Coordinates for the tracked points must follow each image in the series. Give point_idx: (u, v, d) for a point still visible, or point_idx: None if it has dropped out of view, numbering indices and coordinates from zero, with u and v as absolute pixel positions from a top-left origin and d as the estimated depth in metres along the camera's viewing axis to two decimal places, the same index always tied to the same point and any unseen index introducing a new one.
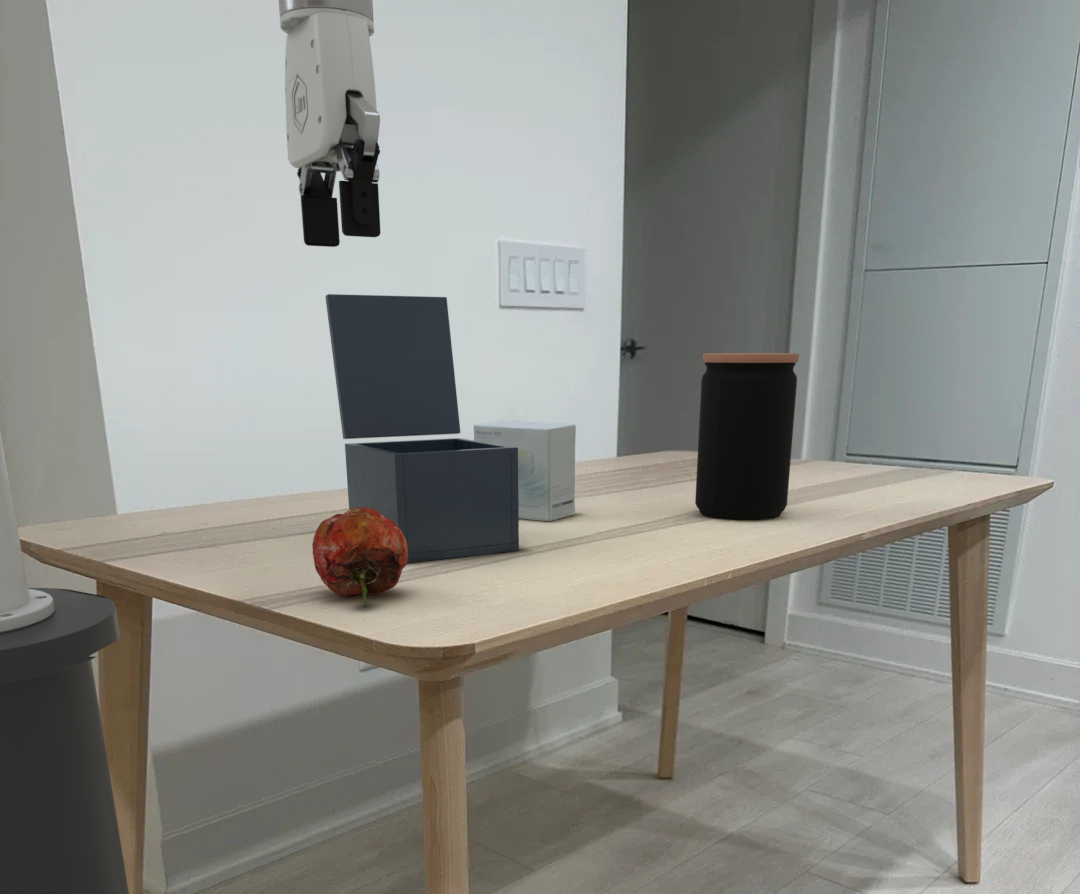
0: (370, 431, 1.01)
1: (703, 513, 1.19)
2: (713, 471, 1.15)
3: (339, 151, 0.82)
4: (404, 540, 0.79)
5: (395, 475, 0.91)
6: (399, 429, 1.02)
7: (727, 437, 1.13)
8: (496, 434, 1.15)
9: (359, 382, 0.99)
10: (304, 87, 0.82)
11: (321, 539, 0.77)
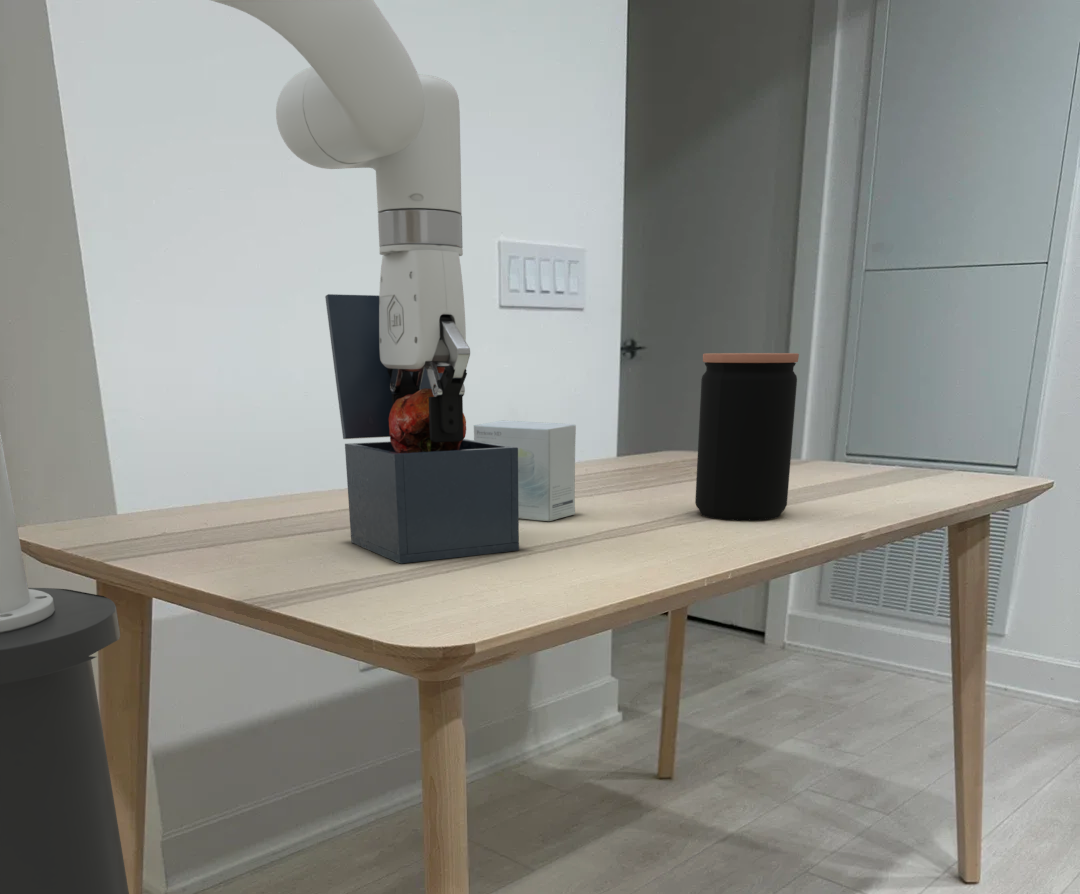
0: (370, 431, 1.01)
1: (703, 513, 1.19)
2: (713, 471, 1.15)
3: (430, 370, 0.91)
4: (463, 416, 0.96)
5: (395, 475, 0.91)
6: None
7: (727, 437, 1.13)
8: (496, 434, 1.15)
9: (359, 382, 0.99)
10: (401, 308, 0.91)
11: (397, 412, 0.94)
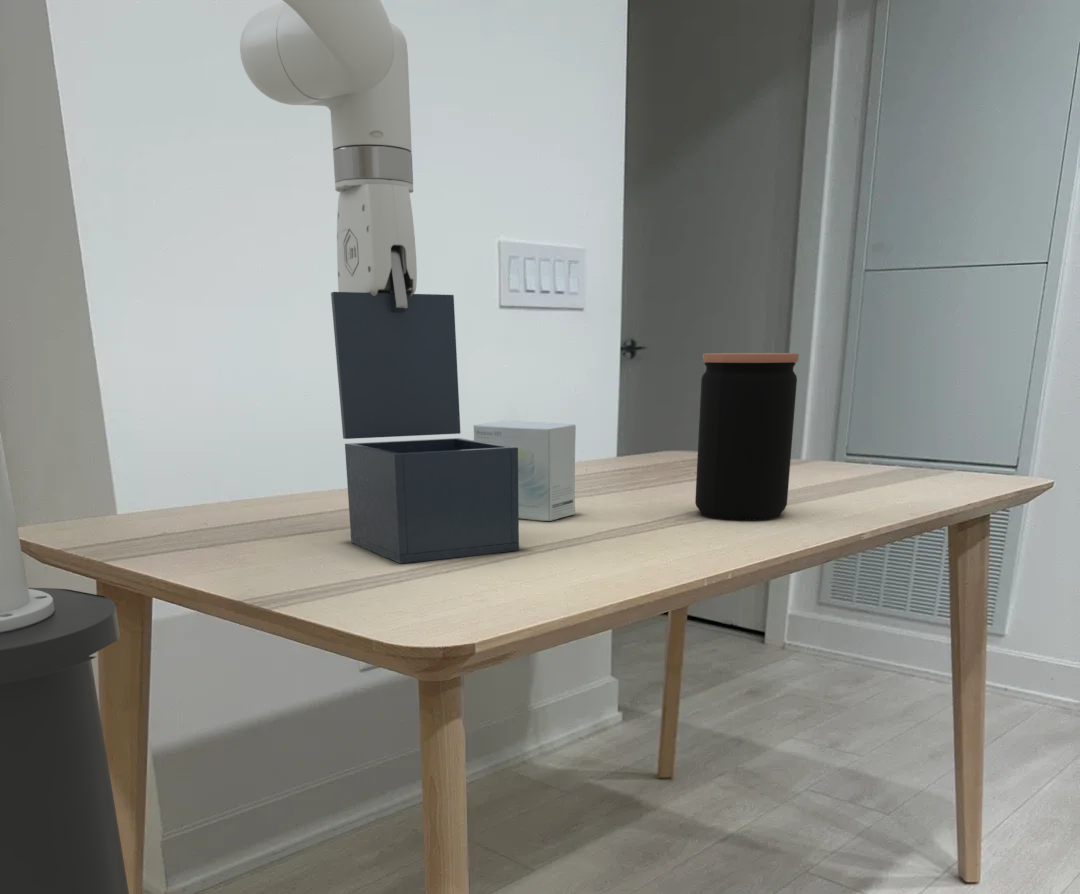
0: (370, 431, 1.01)
1: (703, 513, 1.19)
2: (713, 471, 1.15)
3: None
4: None
5: (395, 475, 0.91)
6: (399, 429, 1.02)
7: (727, 437, 1.13)
8: (496, 434, 1.16)
9: (361, 382, 0.99)
10: (355, 240, 0.98)
11: None
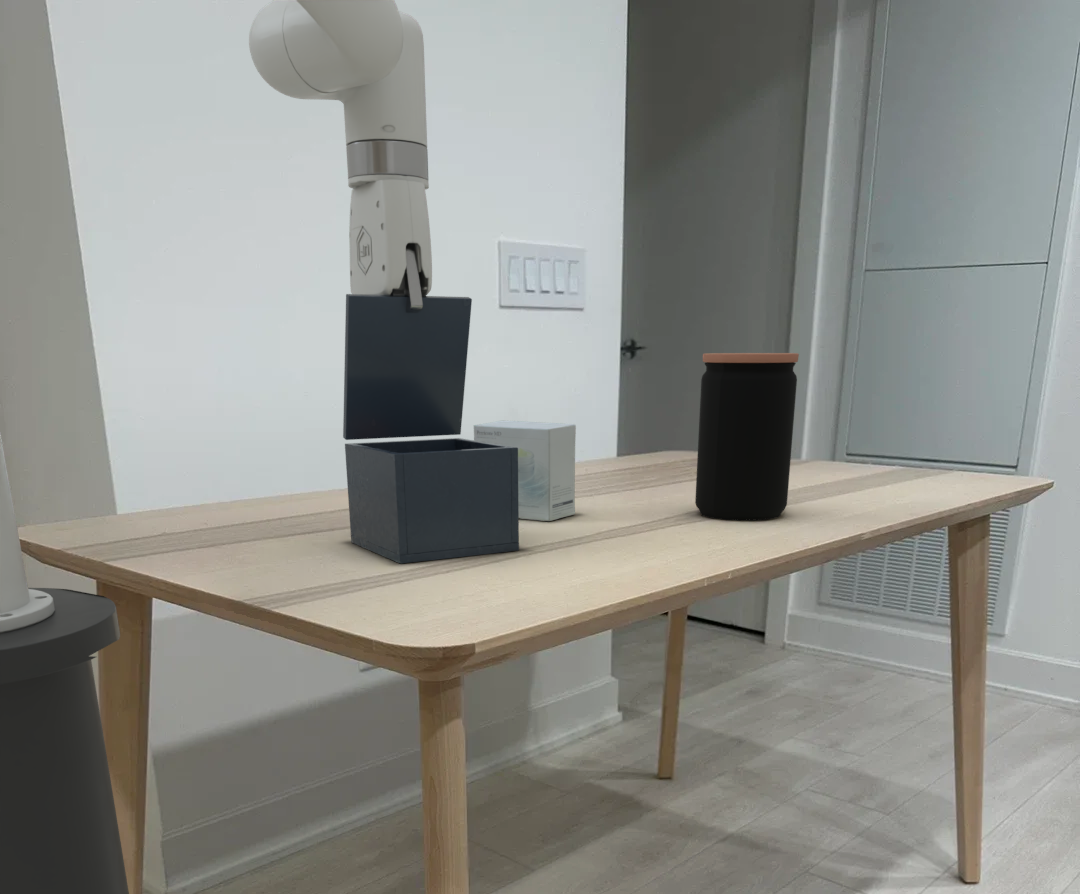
0: (371, 433, 1.01)
1: (703, 513, 1.19)
2: (713, 471, 1.15)
3: None
4: None
5: (395, 475, 0.91)
6: (400, 431, 1.02)
7: (727, 437, 1.13)
8: (496, 434, 1.16)
9: (367, 386, 0.98)
10: (369, 238, 0.95)
11: None
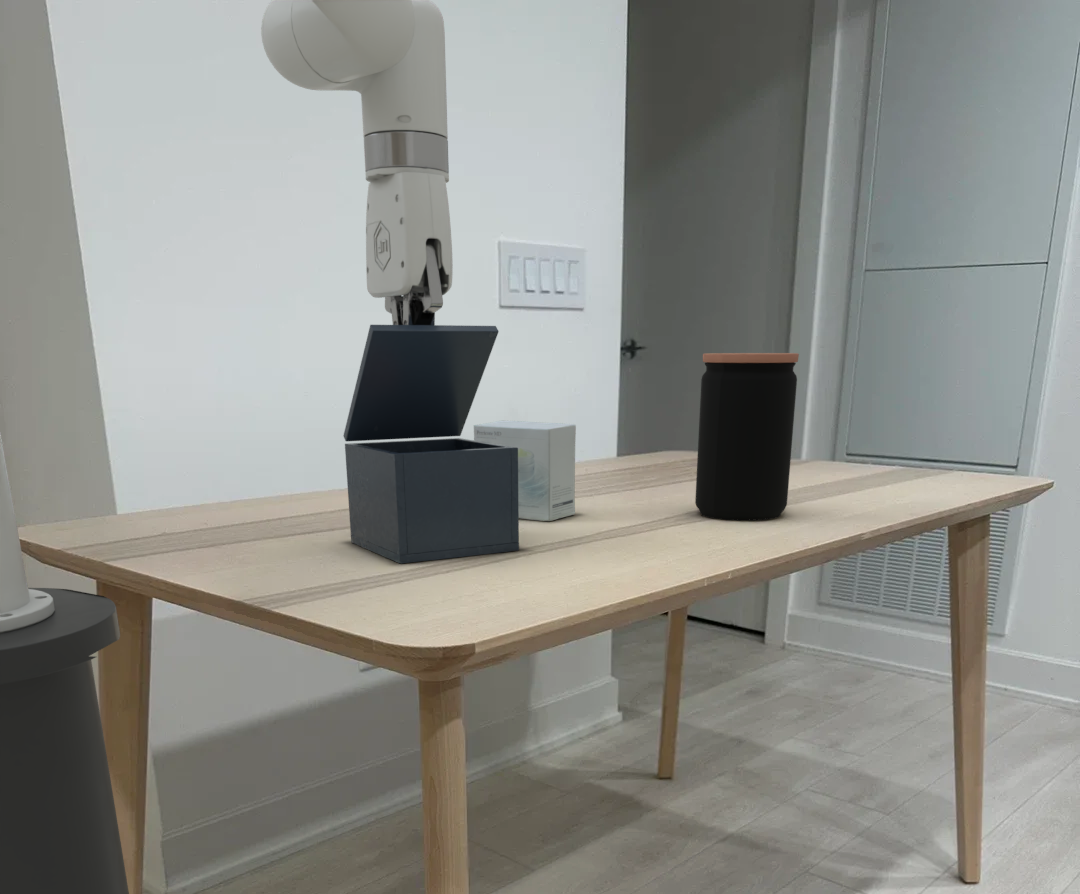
0: (372, 436, 1.00)
1: (703, 513, 1.19)
2: (713, 471, 1.15)
3: (406, 304, 0.94)
4: None
5: (395, 475, 0.91)
6: (401, 434, 1.02)
7: (727, 437, 1.13)
8: (496, 434, 1.15)
9: (376, 400, 0.97)
10: (387, 233, 0.91)
11: None
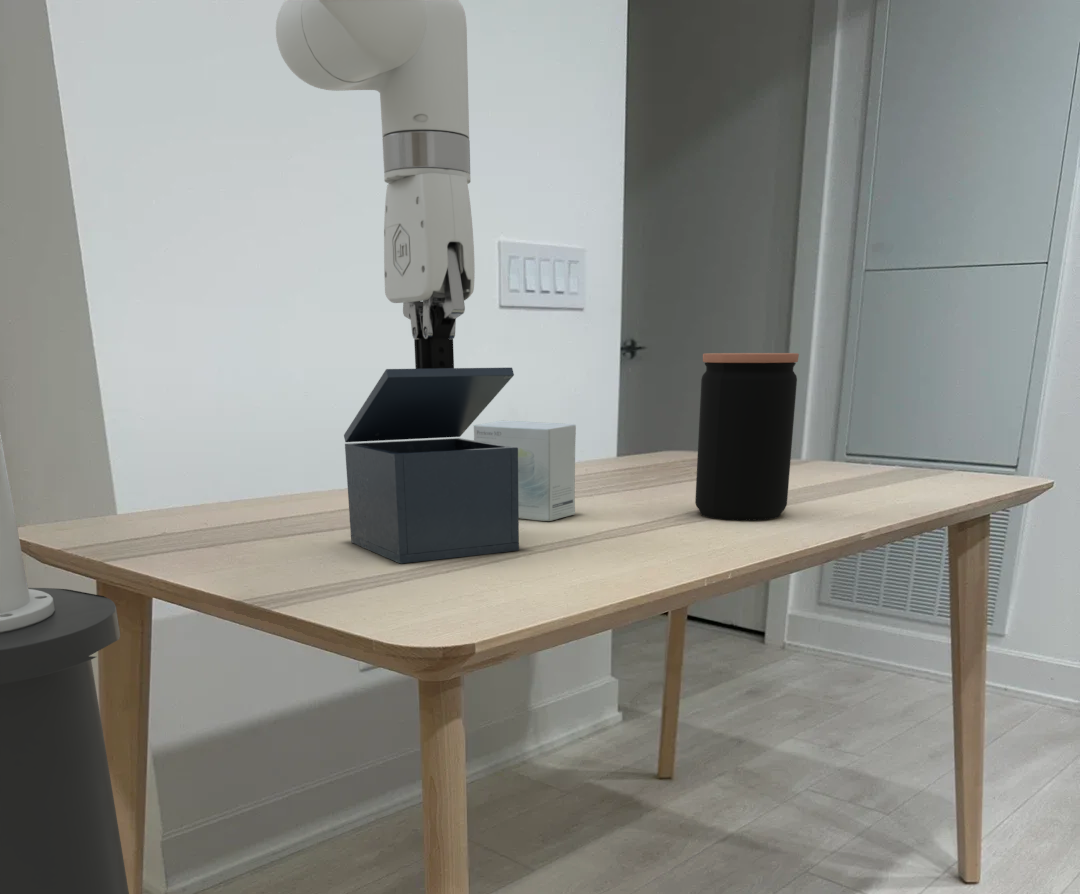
0: (372, 439, 1.01)
1: (703, 513, 1.19)
2: (713, 471, 1.15)
3: (427, 310, 0.90)
4: None
5: (395, 475, 0.91)
6: (401, 437, 1.02)
7: (727, 437, 1.13)
8: (496, 434, 1.15)
9: (381, 418, 0.96)
10: (407, 237, 0.88)
11: None
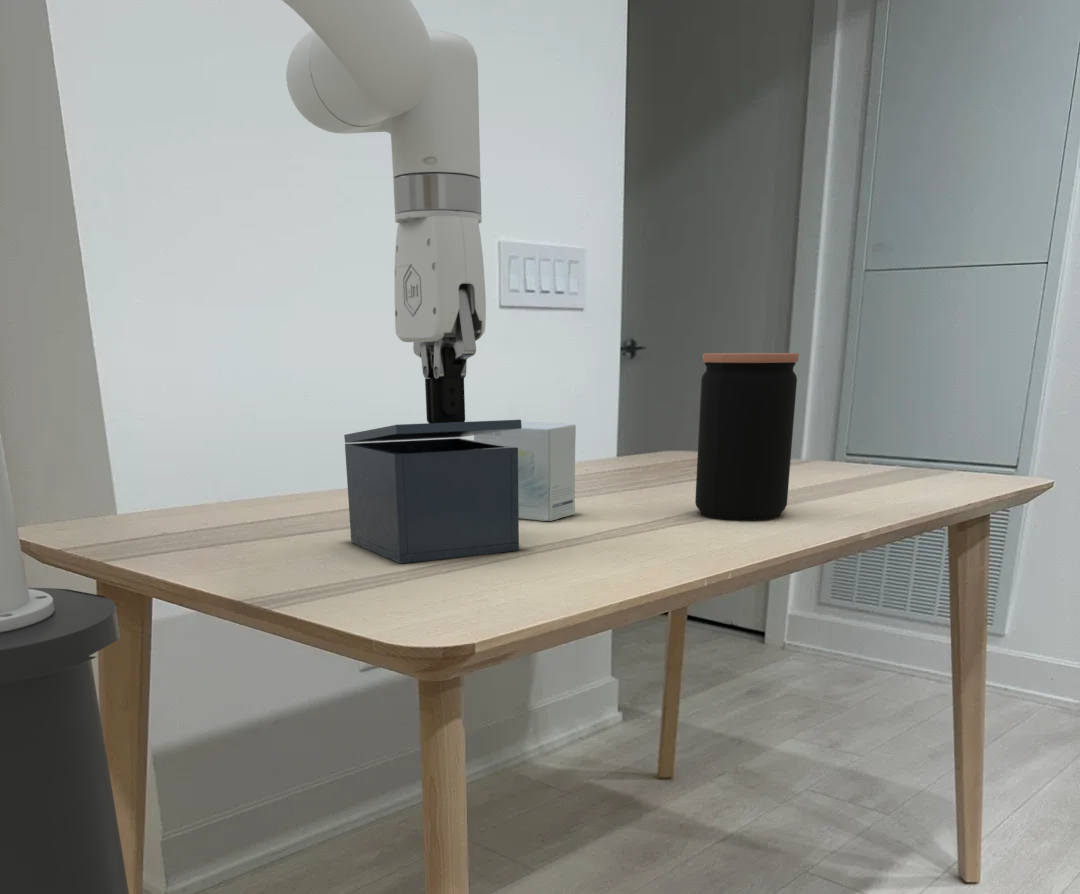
0: (372, 441, 1.01)
1: (703, 513, 1.19)
2: (713, 471, 1.15)
3: (438, 350, 0.90)
4: None
5: (395, 475, 0.91)
6: None
7: (727, 437, 1.13)
8: (496, 434, 1.16)
9: None
10: (418, 278, 0.88)
11: None
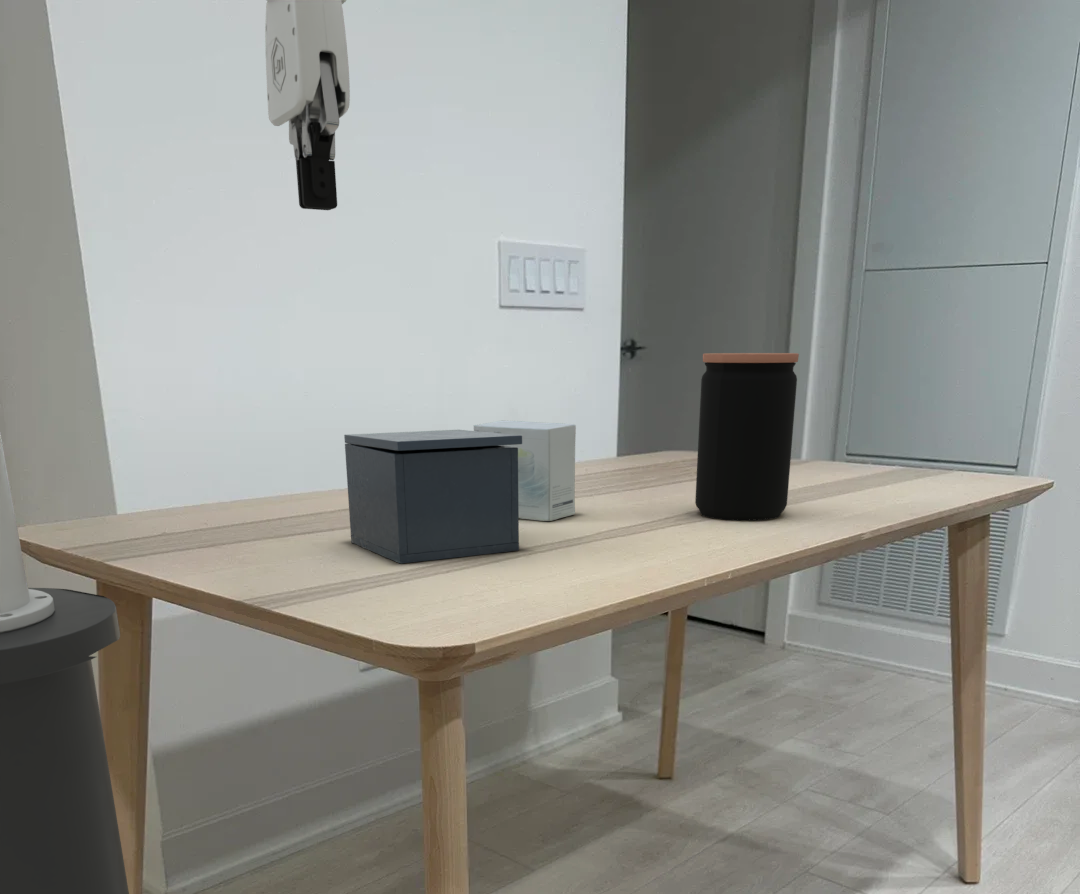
0: None
1: (703, 513, 1.19)
2: (713, 471, 1.15)
3: (304, 126, 0.92)
4: None
5: (395, 475, 0.91)
6: None
7: (727, 437, 1.13)
8: None
9: None
10: (282, 49, 0.89)
11: None
